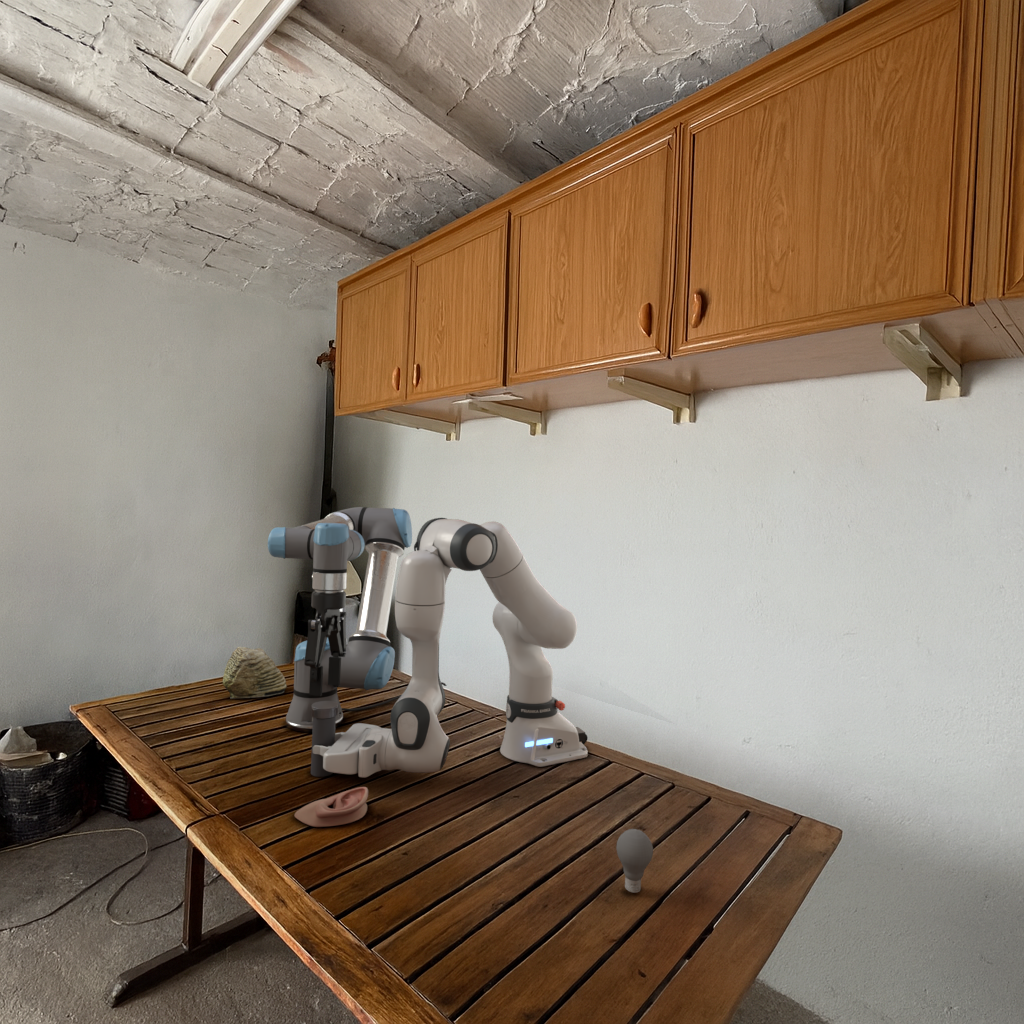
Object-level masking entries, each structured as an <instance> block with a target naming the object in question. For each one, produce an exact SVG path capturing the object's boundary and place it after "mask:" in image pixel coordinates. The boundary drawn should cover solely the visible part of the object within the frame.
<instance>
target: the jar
mask: <svg viewBox="0 0 1024 1024" xmlns="http://www.w3.org/2000/svg"><path fill="white" fill-rule="evenodd" d="M335 724H336V716H335V717H332V718H326V719H319V718H314V717H313V729H312V732H311V734H312V735H311V755H310V758H311V759H310V762H311V763H310V774H311V776H313V777H316V778H323V777H324V778H325V777H328V776H331V775H332V774H333V772H328V771H326V770H325V769H323V756H322V755H320V754H313V746H315V745H316V744H323V746H325V747H328V746H332V745H333V744H334V743H335V733H336V727H335Z"/></svg>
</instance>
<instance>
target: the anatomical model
mask: <svg viewBox="0 0 1024 1024" xmlns="http://www.w3.org/2000/svg"><path fill="white" fill-rule="evenodd" d="M368 797H369V789H368V787H366V786H360V787H355V788H352V789H348V790H346V791H341V792H340V793H337V794H334V795H332V796H330V797H327V798H322V799H318V800H315V801H312V802H309V803H308V804H306V805H304V806H302V807H301V808H299V809H298V810H297V811H296V812H295V813H294V818H295V819H297V820H298V821H300V822H301V823H303V824H305V825H308V826H310V827H314V828H315V827H316V828H323V827H334V826H341V825H346V824H351V823H353V822H356V821H358V820H361V819H362V818H363V817H364V816H365V815H366V814H367V811H368V804H367V800H368Z"/></svg>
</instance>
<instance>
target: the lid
mask: <svg viewBox="0 0 1024 1024" xmlns="http://www.w3.org/2000/svg"><path fill="white" fill-rule="evenodd" d="M337 714H338V703H337V702H334V701H319V702H315V703H313V704H312V707H311V716H312V717H314V718H319V719H326V718H332V717H335V716H336V715H337Z"/></svg>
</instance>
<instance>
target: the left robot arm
mask: <svg viewBox="0 0 1024 1024" xmlns="http://www.w3.org/2000/svg"><path fill="white" fill-rule="evenodd" d="M267 537H268V538H267V550H268V553H269V554H270V556H271V557H273V558H281V559H284V560H285V559H295V560H296V559H297V560H313V561H312V562H313V563H312V575H311V579H312V586H311V587H312V589H313V591H312V592H311V604H310V606H311V608H312V609H315V610H316V614H315V618H314V619H308V621H307V638H306V640H304V641H302V642H300V643H298V644H297V645H296V647H295V655H294V659H293V661H294V670H293V671H294V672H293V695H292V696H293V697H292V699H291V702H290V704H289V708H288V711H287V713H286V715H285V726H286V728H287V729H289V730H291V731H294V732H295V731H296V732H301V733H312V729H313V717H312V716H311V707H312V704H313V703H315V702H319V701H334V702H337V703H338V714H337V715H336V724H335V728H337V727H339V726H340V725H342V723H343V722H344V713H343V712H358V711H363V710H368V709H373V708H375V707H376V708H377V707H379V706H383V705H385V704H388V703H391V702H393V701H395V700H396V701H397V700H398V699H399V698H400V697H401V695H402V694H400V695H397V696H395V697H391V698H390V699H388V700H385V701H382V702H378V703H375V704H371V705H367V706H362V707H356V708H355V707H354V708H347V707H346V708H345V707H342V706H341V702H340V699H339V695H338V688H340V689H341V688H342V689H359V690H365V691H370V690H382V689H383V688H384V687H385V686H387V684H388V683H389V681H390V678H391V677H392V676H391V675H392V673H393V671H394V666H395V657H396V652H395V651H396V650H395V649H394V647H392V646H391V641H390V639H389V638H388V637H387V631H388V625H389V619H390V613H391V606H392V599H393V593H394V587H395V580H396V573H397V567H398V561H399V558H401V557H402V556H403V555H404V554H405V549H408V548H410V547H411V546H412V543H413V528H412V521H411V517H410V513H409V512H408V511H407V510H406V509H402V508H395V507H392V508H391V507H365V506H356V507H350V508H349V507H348V508H345V509H341V510H337V511H334V512H331V513H329V514H327V515H326V516H325V517H324V518H321V519H319V520H315V521H311V522H309V523H306V524H302V525H297V526H295V527H286V526H283V527H278V526H277V527H274V528H272V529H271V530H270V532H269V534H268V536H267ZM364 551H366V552H367V554H368V559H367V564H366V570H365V574H364V575H365V576H364V582H363V588H362V593H361V599H360V604H359V610H358V616H357V620H356V627H355V632H353V633H352V634H351V635H350V636H348V641H347V625H346V623H347V611H341V609H344V608H346V603H347V601H346V600H347V592H346V591H345V590H346V589H347V583H348V562H352V561H354V560H356V559H357V558H358V557H360V556H361V555H362V554H363V552H364ZM441 684H442V686H443V687H447V685H448V684H446V683H445V682H442V681H441Z"/></svg>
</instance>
